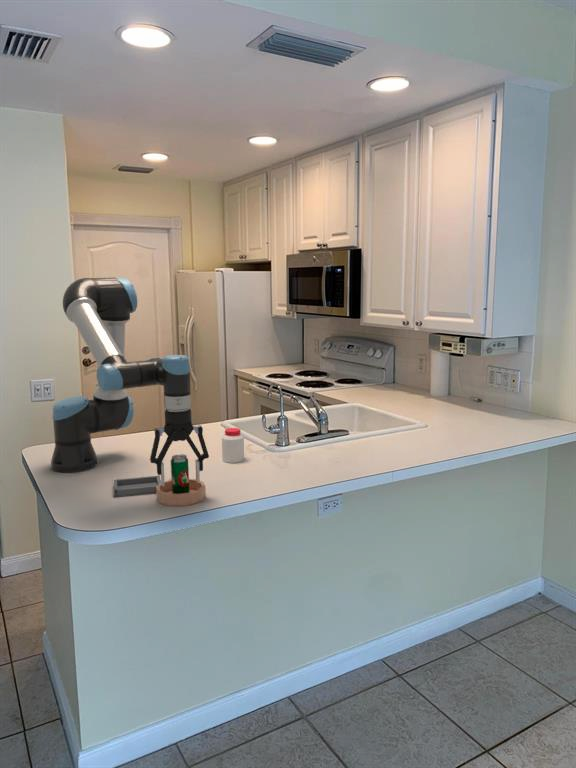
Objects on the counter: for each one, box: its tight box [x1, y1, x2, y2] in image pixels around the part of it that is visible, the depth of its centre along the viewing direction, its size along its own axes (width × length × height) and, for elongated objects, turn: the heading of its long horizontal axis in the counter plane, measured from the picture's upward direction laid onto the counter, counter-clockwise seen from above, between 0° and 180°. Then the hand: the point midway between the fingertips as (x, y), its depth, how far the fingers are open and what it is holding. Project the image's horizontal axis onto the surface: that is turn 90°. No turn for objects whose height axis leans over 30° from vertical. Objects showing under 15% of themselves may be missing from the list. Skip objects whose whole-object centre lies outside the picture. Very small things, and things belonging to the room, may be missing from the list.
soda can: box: [170, 453, 190, 494], centre depth 175 cm, size 5×5×12 cm
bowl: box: [155, 478, 207, 507], centre depth 176 cm, size 14×14×3 cm
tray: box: [113, 475, 161, 498], centre depth 183 cm, size 14×10×2 cm
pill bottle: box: [221, 427, 245, 464], centre depth 212 cm, size 8×8×11 cm
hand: (180, 483), depth 176 cm, fingers open, 9 cm apart
